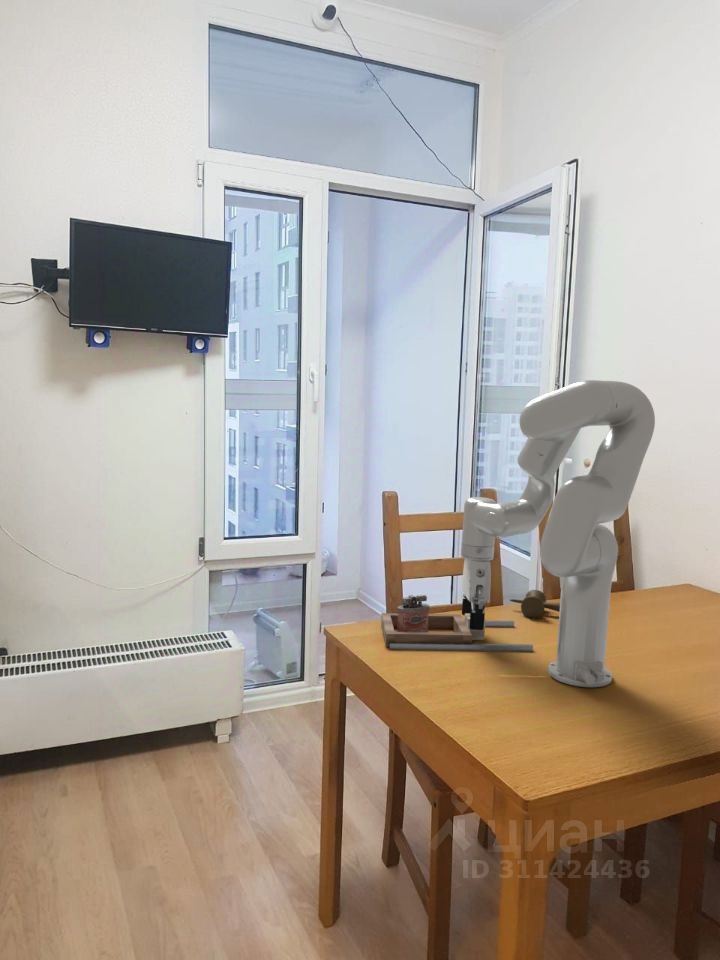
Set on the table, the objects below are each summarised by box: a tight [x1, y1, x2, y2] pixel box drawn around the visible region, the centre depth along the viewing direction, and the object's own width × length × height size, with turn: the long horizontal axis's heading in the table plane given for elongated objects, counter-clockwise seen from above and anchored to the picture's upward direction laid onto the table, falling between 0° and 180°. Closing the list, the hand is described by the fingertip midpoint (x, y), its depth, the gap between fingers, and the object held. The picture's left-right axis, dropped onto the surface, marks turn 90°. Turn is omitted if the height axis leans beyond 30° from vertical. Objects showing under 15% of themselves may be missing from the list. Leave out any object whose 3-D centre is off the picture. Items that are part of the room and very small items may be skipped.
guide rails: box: [388, 619, 534, 652], centre depth 168 cm, size 18×32×2 cm, turn 92°
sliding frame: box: [380, 612, 486, 648], centre depth 168 cm, size 15×23×5 cm, turn 92°
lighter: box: [396, 594, 431, 632], centre depth 167 cm, size 8×3×10 cm, turn 114°
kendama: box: [509, 589, 560, 620], centre depth 188 cm, size 6×10×20 cm
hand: (472, 622), depth 169 cm, fingers open, 9 cm apart
